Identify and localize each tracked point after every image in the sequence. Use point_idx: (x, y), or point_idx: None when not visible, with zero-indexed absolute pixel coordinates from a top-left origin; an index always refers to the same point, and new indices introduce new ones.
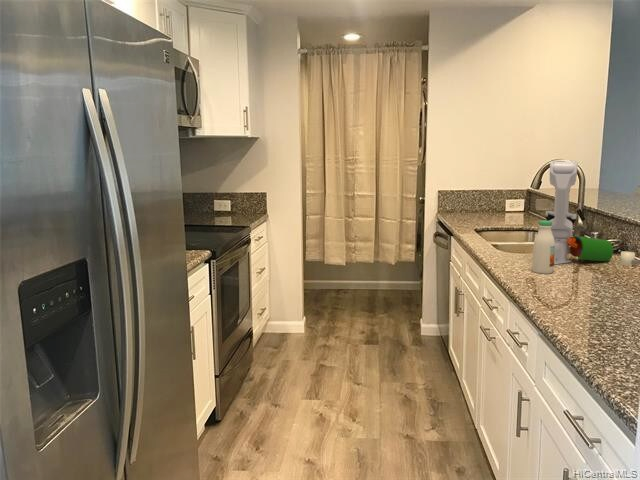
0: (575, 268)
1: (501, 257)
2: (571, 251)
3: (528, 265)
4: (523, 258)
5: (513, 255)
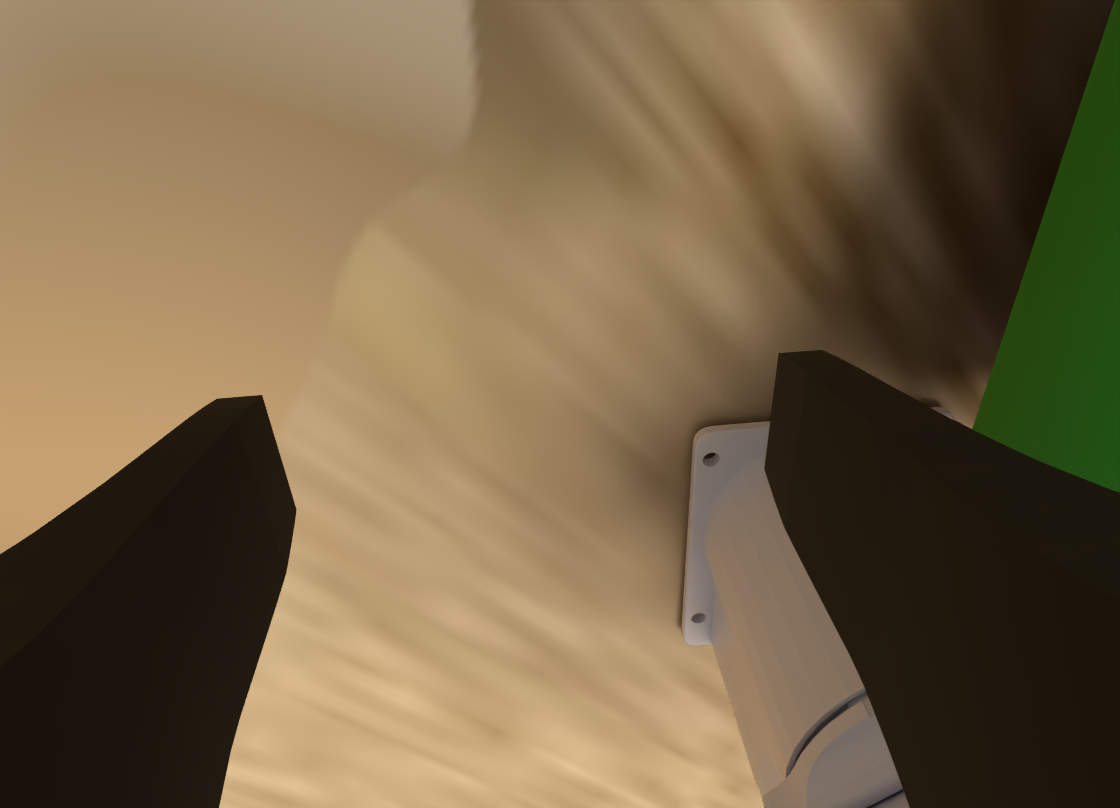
0: None
1: (346, 799)
2: None
3: (741, 784)
4: (476, 683)
5: (288, 683)
